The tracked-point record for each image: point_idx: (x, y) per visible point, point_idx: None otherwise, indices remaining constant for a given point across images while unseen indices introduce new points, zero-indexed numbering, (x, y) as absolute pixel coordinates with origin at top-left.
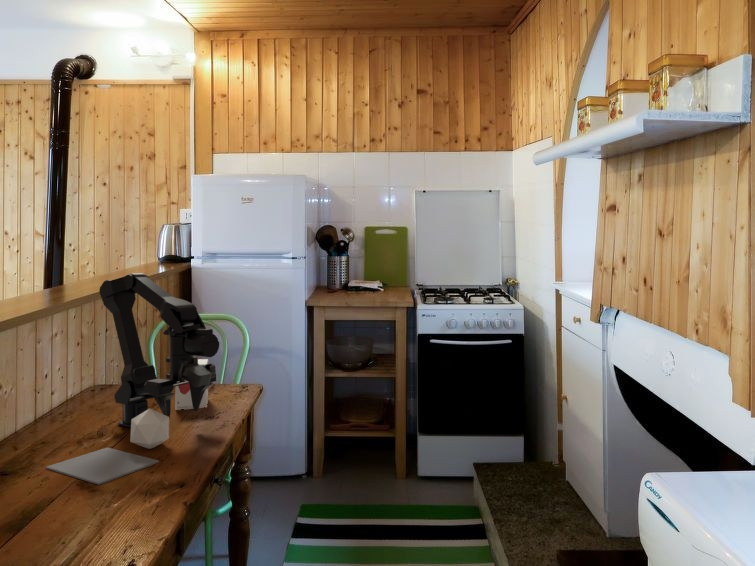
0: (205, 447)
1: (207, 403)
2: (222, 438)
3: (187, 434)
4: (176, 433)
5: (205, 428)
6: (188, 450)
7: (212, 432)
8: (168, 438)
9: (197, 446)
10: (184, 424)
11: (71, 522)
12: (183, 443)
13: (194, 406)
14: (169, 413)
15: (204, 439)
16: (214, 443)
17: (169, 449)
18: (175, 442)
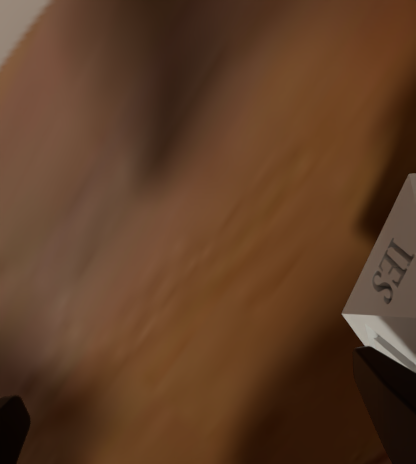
0: (198, 15)
1: None
2: (17, 99)
3: (136, 319)
4: (167, 369)
5: (12, 336)
6: (307, 53)
7: (13, 251)
8: (413, 173)
9: (221, 81)
10: (65, 449)
11: None
12: (241, 203)
13: (3, 455)
14: (407, 382)
15: (114, 173)
16: (109, 44)
17: (360, 168)
18: (259, 252)
